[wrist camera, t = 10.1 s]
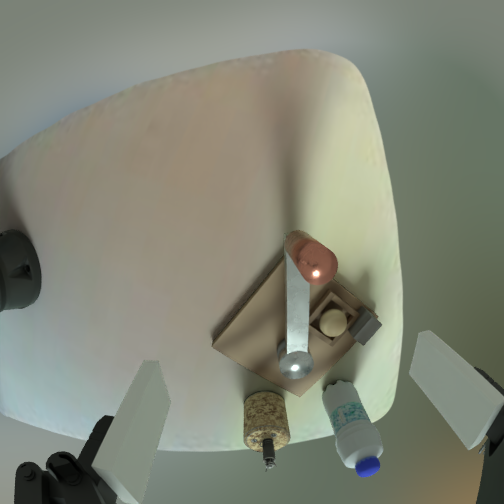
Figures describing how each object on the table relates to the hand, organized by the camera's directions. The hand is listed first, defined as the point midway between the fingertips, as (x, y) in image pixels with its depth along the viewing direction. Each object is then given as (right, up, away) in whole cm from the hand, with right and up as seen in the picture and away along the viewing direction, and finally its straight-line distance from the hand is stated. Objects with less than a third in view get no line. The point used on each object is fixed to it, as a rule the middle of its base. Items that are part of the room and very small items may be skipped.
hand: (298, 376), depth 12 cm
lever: (+4, -1, +24) cm, 24 cm away
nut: (+9, -4, +27) cm, 29 cm away
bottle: (+13, -19, +32) cm, 40 cm away
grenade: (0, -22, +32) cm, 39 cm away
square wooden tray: (+5, -6, +29) cm, 30 cm away
